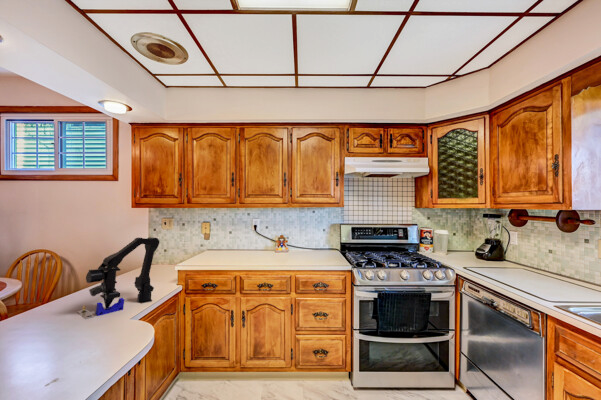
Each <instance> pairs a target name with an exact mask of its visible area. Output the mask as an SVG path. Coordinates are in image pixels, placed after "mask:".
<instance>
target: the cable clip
mask: <svg viewBox="0 0 601 400" xmlns="http://www.w3.org/2000/svg"><path fill="white" fill-rule="evenodd" d="M124 305H125V299H124V298H123V297H118V300H117V302H115V303H114V304H111V305H110V306H109V307H108V308H107V309H106V308H104V304H103V303H102V302H97V303H96V306H95V307H96V309H95V316H97V317H99V316H103V315H108V314H113V313H115V312H120V311H123V310H124Z"/></svg>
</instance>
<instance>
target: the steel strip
mask: <svg viewBox="0 0 601 400" xmlns="http://www.w3.org/2000/svg"><path fill="white" fill-rule="evenodd" d="M76 312H77V313H78V314H79V315H80V316H81V317H82V318H83V319H84V320H87V319H91V318H95V317H96V315H95V314H94V313H92V312H90V310H89V309H87V306H86V305H83V306H82V309H81V310H77V311H76Z"/></svg>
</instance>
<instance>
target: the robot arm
mask: <svg viewBox="0 0 601 400" xmlns="http://www.w3.org/2000/svg"><path fill="white" fill-rule="evenodd" d="M160 243H161V242H160V239H159V238H157V237H152V236H149V237H147V238H143V237H135V238H134V239H133V240H132V241H131V242H129V243H128V244H127V245H125V246H124V247H122V248H121V249H120V250H118V251H117V252H114V253H113V254H110V255H108V256H107V257H105V258H104V259H103V260H102V262H101V264H100V265H99V267H97V268H96V269H95V268H94V269H89V270H88V272H87V273H86V276H85V281H86V283H87V284H91V283H97V282H100V285H97V286H95V287H92V288H90V289H88V291H89V294H90V296H92V297H95V296H97V295H99V294H100V295H99V296H100V297H101V299H103V302H104V307H105V308H104V309H108V307H111V306H112V303H113V301H114V300H115V299H117V298H118V299H119V298H121V293H120V291H117V288H116V284H117V283H118V282H117V279H116V278H117V272H119V271H121V270H122V269H121V268H119V265H120V264H121V263H122V261H123V259H124V258H125V257H126V256H128V255H129V254H130V253H132V252H134V250H135V249H137V248H139V246H141V245H144V248H145V249H144V250H145V254H144V258H143V263H142V266H141V269H140V274H139V276H135V280H134V282H133V285H134V287H135V288H136V289H137V291H138V294H137V298H136V301H137V302H138V303H140V304H145V303H148V302H152V301H153V300H152V292H154V289H155V288H154V286H153V285H152V284H151V277H150V273H151V268H152V264H153V259H154V255H155V252H156V250H157V249H158V247H159V245H160Z"/></svg>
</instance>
